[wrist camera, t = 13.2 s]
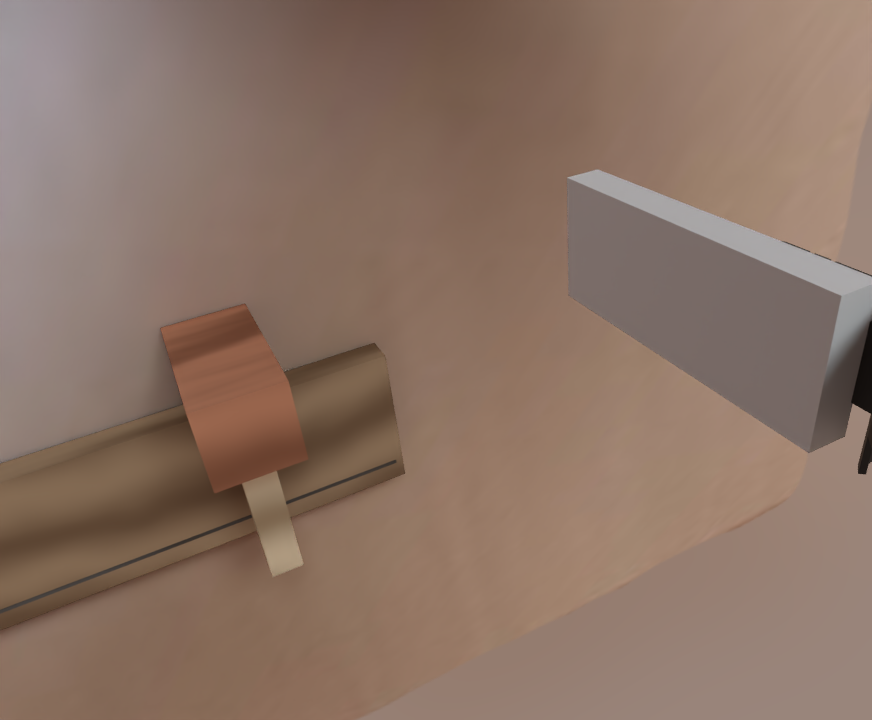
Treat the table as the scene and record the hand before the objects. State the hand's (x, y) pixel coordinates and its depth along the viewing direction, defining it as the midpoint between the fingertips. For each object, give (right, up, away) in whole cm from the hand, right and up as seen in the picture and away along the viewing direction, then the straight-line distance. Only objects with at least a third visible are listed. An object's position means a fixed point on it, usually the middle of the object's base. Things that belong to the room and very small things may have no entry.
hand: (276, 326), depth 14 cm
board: (-14, -8, +33) cm, 37 cm away
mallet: (-10, -4, +33) cm, 35 cm away
